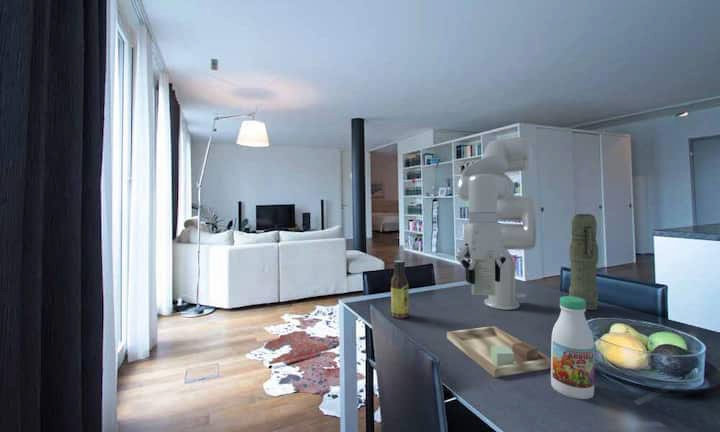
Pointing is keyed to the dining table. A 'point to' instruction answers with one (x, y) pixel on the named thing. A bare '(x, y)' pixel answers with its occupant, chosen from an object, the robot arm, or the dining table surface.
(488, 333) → the tray
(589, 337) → the milk bottle
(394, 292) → the sauce bottle
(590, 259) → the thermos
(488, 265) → the skincare box
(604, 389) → the dining table surface
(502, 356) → the sage block
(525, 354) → the walnut block
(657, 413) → the dining table surface
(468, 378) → the dining table surface
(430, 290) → the dining table surface
